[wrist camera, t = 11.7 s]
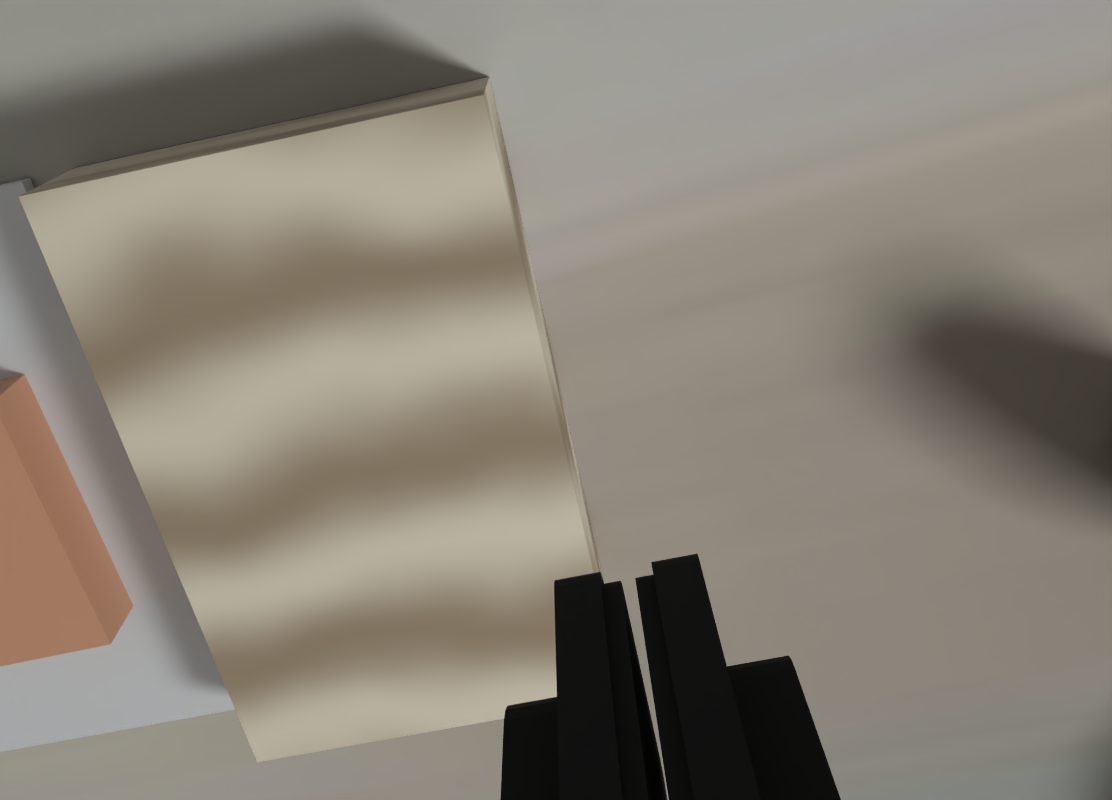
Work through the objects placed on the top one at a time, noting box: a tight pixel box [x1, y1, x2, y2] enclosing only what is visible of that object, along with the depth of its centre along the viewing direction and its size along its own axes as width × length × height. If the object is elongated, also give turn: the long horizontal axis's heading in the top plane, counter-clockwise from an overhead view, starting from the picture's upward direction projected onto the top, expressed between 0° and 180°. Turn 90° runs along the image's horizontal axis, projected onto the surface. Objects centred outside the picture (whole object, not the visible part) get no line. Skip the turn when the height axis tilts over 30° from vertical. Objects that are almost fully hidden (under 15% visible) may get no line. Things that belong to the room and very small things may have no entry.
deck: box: [19, 77, 603, 762], centre depth 37 cm, size 22×14×4 cm, turn 12°
